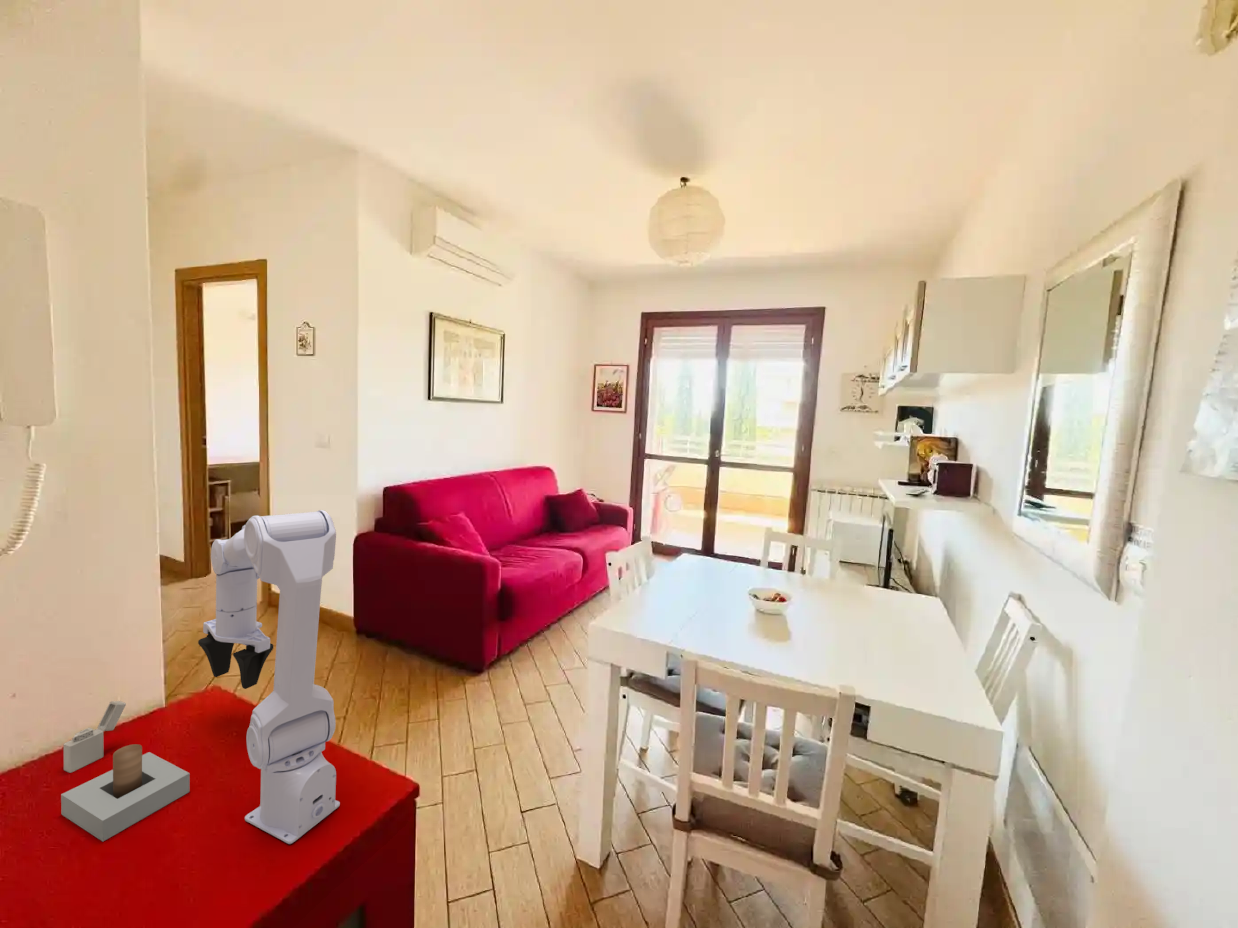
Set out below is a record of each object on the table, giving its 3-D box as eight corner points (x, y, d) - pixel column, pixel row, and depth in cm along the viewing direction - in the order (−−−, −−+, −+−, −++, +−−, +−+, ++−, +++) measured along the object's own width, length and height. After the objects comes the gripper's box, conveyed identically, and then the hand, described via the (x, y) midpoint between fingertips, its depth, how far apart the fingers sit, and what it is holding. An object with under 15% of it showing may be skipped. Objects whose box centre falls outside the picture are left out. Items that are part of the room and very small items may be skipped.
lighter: (70, 772, 78) (69, 723, 77) (63, 769, 79) (62, 720, 78) (126, 745, 85) (126, 699, 84) (119, 742, 85) (119, 697, 85)
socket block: (189, 791, 77) (189, 773, 76) (102, 841, 67) (102, 820, 67) (149, 769, 80) (149, 751, 80) (61, 814, 71) (61, 794, 70)
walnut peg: (146, 799, 74) (146, 748, 74) (120, 813, 72) (120, 760, 71) (134, 792, 76) (134, 741, 75) (108, 806, 73) (108, 753, 72)
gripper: (288, 607, 90) (286, 680, 91) (233, 590, 95) (232, 659, 96) (246, 621, 83) (244, 699, 85) (190, 602, 88) (189, 676, 90)
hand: (235, 679), depth 90 cm, fingers open, 7 cm apart
